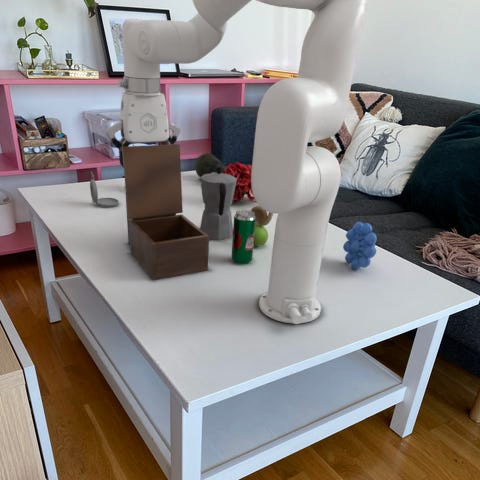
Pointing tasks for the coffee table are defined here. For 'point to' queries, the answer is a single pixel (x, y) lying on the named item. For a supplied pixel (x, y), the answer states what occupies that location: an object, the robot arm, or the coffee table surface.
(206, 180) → the coffeepot
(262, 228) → the snail figurine
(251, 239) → the soda can
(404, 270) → the coffee table surface
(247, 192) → the carnation
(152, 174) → the lid
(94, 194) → the pocket watch
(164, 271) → the chest
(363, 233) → the grapes
